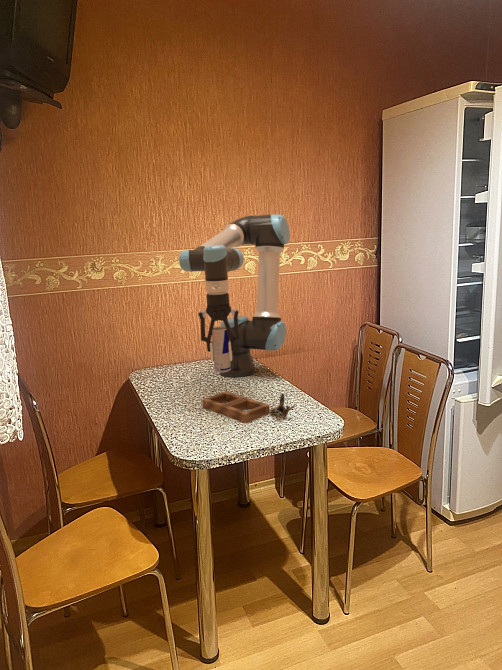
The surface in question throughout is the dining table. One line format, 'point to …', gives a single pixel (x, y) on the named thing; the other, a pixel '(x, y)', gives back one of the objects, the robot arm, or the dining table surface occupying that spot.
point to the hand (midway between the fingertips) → (221, 360)
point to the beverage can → (221, 349)
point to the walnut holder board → (236, 406)
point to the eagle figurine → (282, 407)
